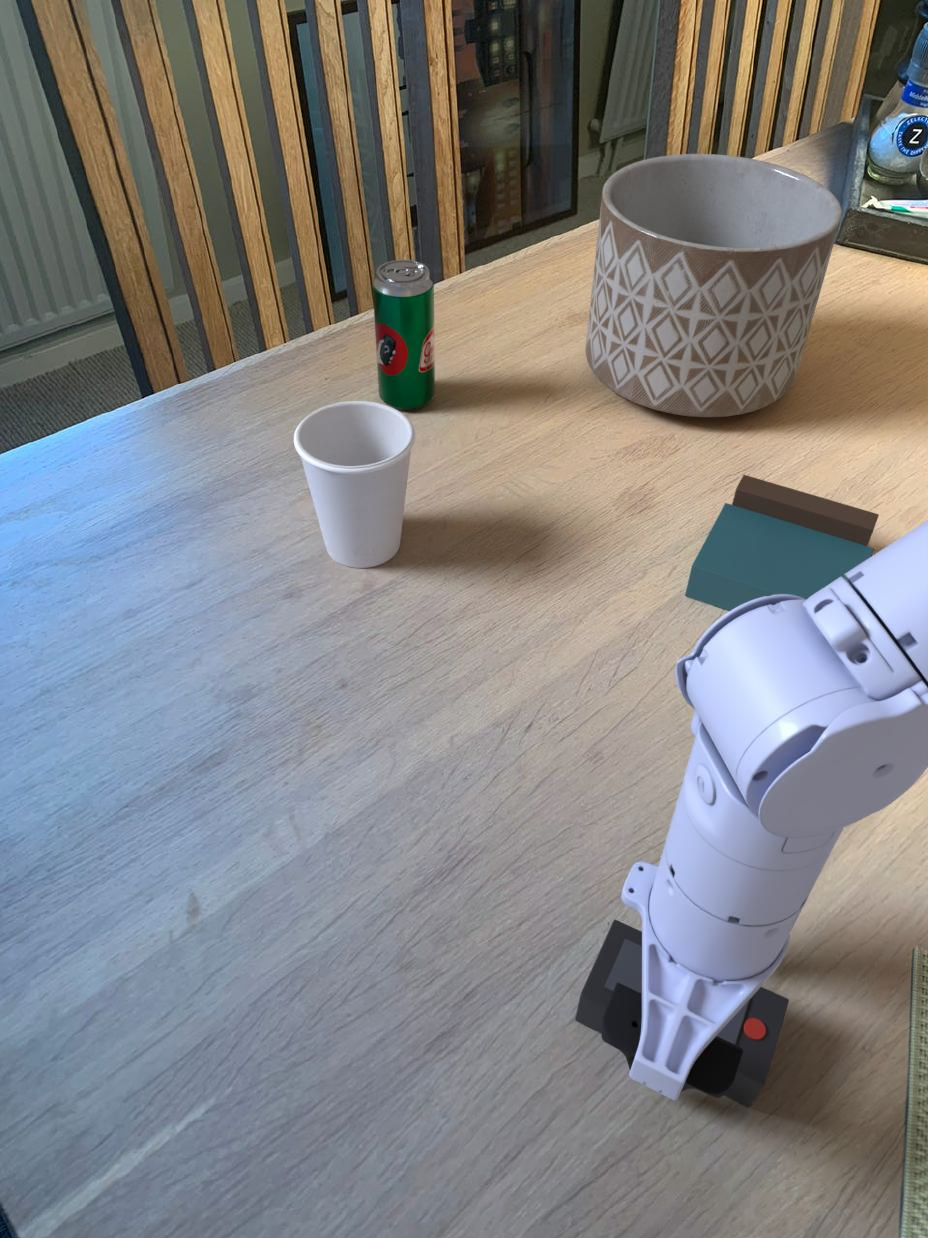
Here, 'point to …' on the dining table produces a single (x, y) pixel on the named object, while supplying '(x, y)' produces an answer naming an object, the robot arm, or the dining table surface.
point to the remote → (746, 1029)
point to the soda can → (404, 334)
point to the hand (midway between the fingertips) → (680, 1008)
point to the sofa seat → (778, 545)
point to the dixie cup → (357, 477)
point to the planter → (707, 281)
